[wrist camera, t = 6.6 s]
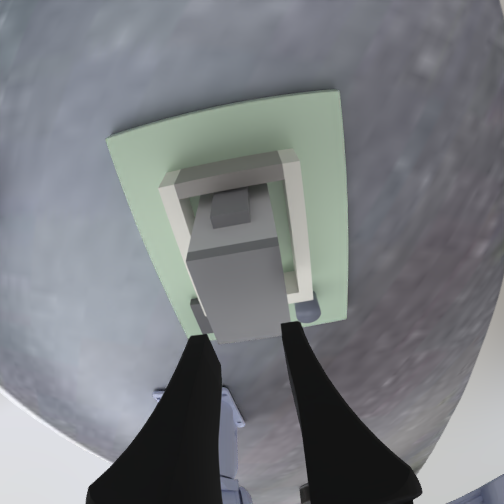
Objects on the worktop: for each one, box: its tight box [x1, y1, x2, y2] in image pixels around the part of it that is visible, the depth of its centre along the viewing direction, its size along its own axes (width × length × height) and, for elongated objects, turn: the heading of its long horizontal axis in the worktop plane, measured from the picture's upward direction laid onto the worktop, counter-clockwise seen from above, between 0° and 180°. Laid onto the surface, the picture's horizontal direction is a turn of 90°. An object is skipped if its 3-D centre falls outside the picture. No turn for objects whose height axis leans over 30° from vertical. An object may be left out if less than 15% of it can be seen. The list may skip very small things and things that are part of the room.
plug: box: [186, 183, 291, 344], centre depth 15 cm, size 6×4×6 cm, turn 10°
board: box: [105, 89, 348, 340], centre depth 18 cm, size 16×12×3 cm
